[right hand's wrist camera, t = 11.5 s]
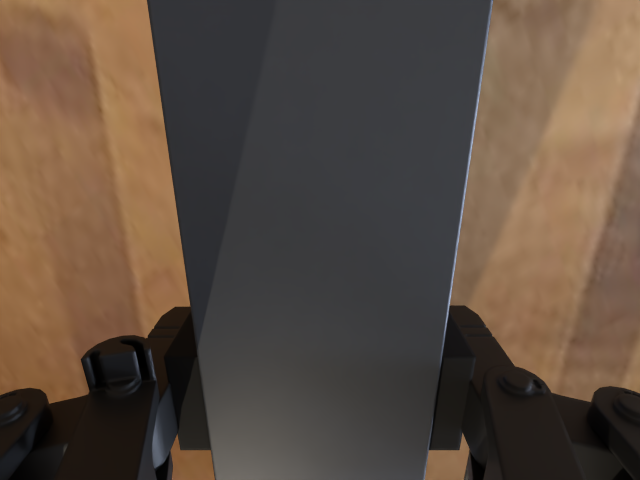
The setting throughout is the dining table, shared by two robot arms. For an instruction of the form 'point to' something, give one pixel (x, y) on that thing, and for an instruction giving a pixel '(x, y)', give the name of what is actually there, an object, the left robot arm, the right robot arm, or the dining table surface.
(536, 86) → the dining table surface
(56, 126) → the dining table surface
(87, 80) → the dining table surface
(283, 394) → the post
